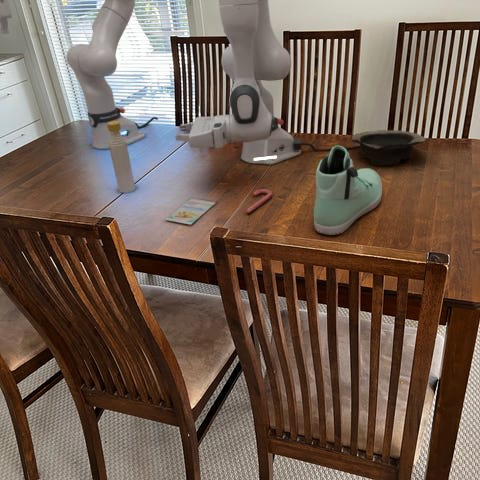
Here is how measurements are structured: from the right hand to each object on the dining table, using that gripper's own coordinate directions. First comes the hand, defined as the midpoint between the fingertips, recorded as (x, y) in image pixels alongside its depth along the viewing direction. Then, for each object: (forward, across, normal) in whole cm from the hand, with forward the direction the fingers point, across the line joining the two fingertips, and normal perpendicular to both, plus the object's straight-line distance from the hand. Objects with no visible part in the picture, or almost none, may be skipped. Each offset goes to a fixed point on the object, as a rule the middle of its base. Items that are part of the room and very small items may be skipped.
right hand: (178, 132), depth 152 cm
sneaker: (-50, +22, +19) cm, 58 cm away
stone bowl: (-70, -15, +18) cm, 74 cm away
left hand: (+59, -23, -31) cm, 70 cm away
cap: (+20, +1, -5) cm, 20 cm away
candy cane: (-24, +16, +18) cm, 34 cm away
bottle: (+20, +1, +18) cm, 27 cm away
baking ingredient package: (-4, +20, +18) cm, 27 cm away
